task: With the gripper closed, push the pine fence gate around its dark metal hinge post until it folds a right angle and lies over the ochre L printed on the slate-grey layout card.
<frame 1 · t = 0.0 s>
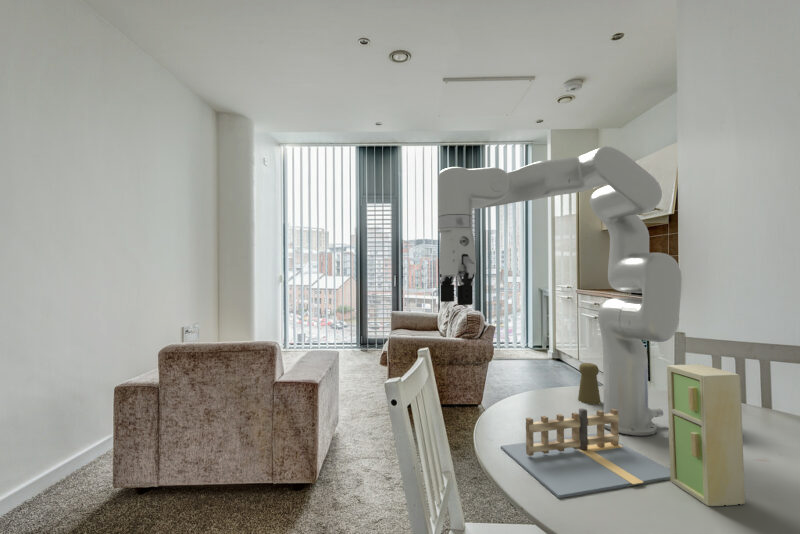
hand: (455, 303, 83), 31 cm above the table, tool pointing down, fingers open, 9 cm apart
cork: (589, 401, 112), on the table
fence fixed: (583, 451, 80), resting on layout card
layout card: (583, 461, 76), on the table
toy refrigerator: (703, 493, 65), on the table
fence gate: (553, 433, 78), point 5 cm above the table, hinge at 0.0°
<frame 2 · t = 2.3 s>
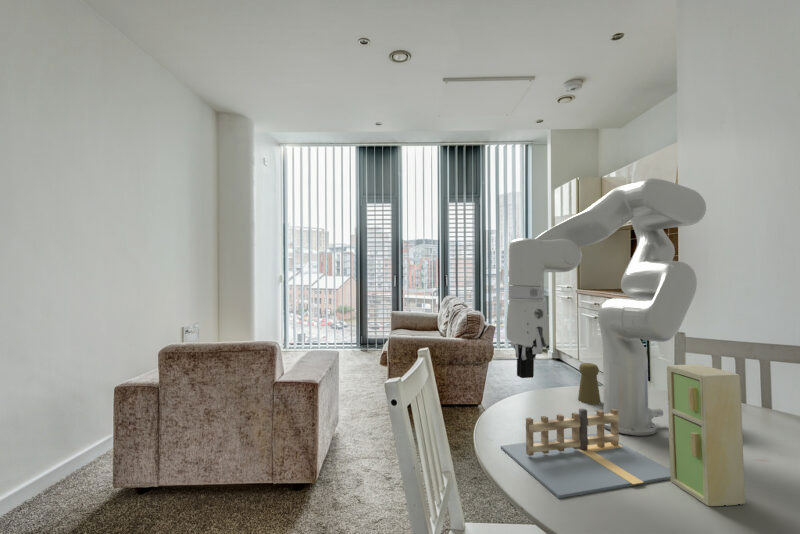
hand: (525, 376, 84), 15 cm above the table, tool pointing down, fingers closed
nothing on the table moved.
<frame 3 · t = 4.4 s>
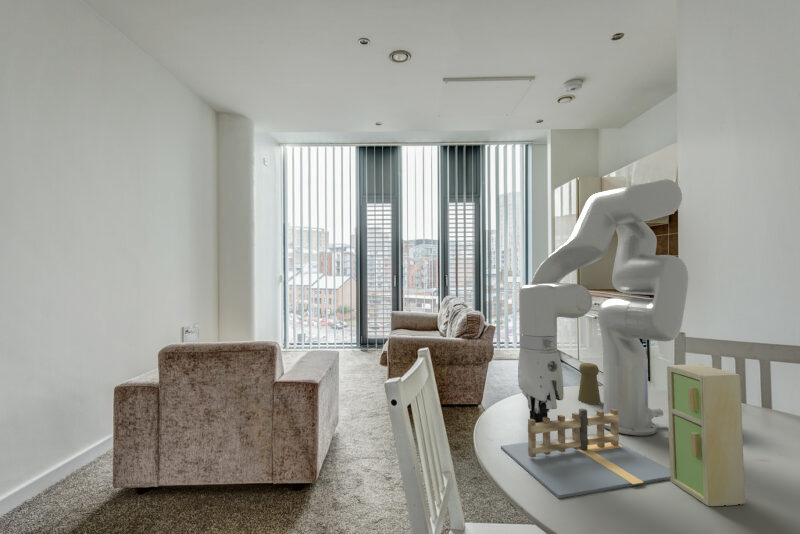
hand: (538, 429, 80), 5 cm above the table, tool pointing down, fingers closed
fence gate: (554, 434, 78), point 5 cm above the table, hinge at 3.3°, touching gripper
everything else where it was.
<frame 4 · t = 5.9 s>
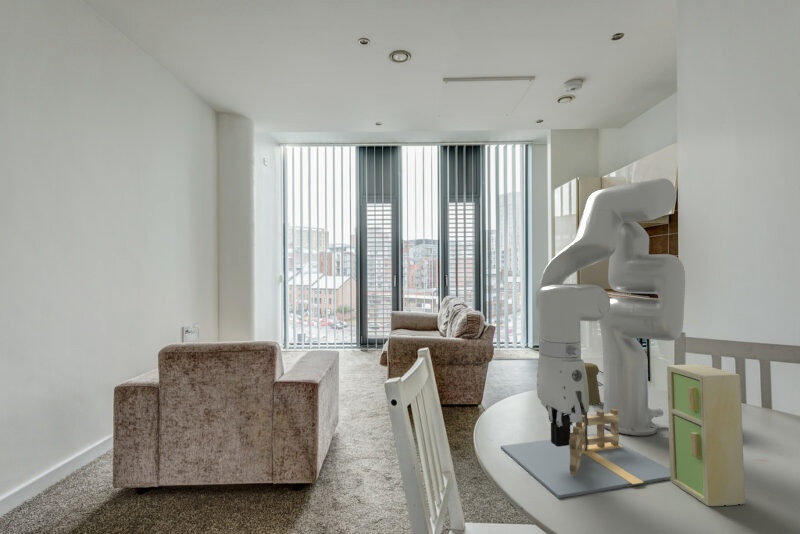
hand: (560, 444, 73), 5 cm above the table, tool pointing down, fingers closed
fence gate: (578, 442, 74), point 5 cm above the table, hinge at 42.5°, touching gripper
everything else where it was.
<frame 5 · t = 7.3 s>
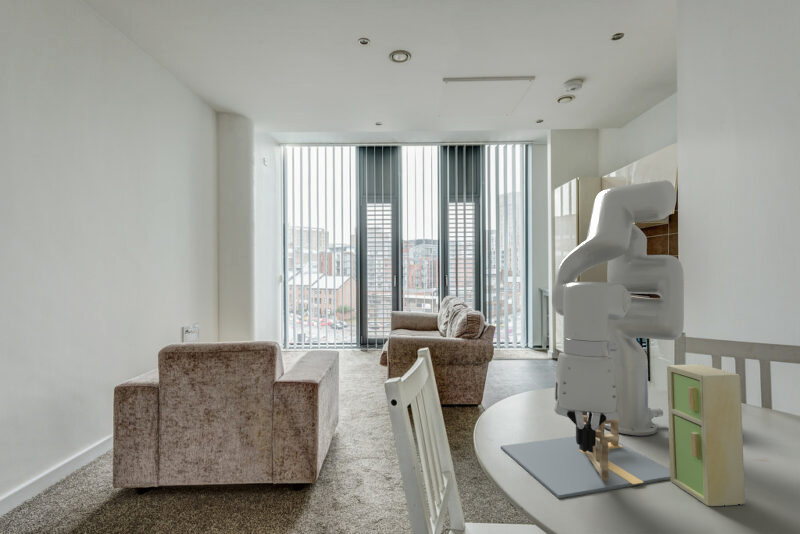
hand: (585, 448, 70), 5 cm above the table, tool pointing down, fingers closed
fence gate: (594, 445, 73), point 5 cm above the table, hinge at 64.8°, touching gripper
everything else where it was.
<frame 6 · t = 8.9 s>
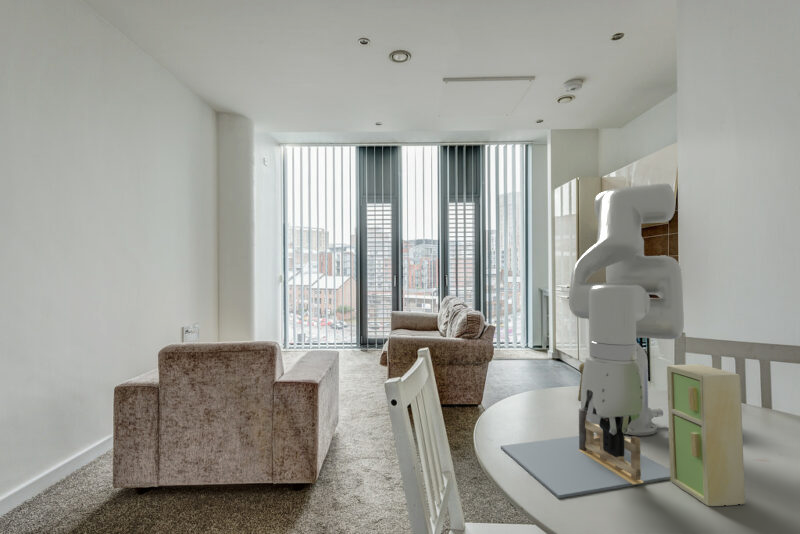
hand: (613, 453, 69), 5 cm above the table, tool pointing down, fingers closed
fence gate: (610, 444, 73), point 5 cm above the table, hinge at 90.8°
everything else where it was.
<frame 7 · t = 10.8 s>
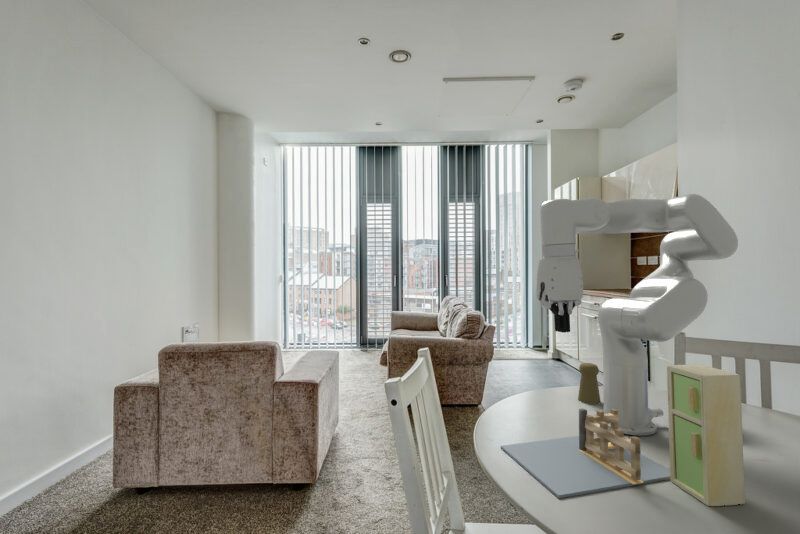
hand: (562, 331, 88), 24 cm above the table, tool pointing down, fingers closed
nothing on the table moved.
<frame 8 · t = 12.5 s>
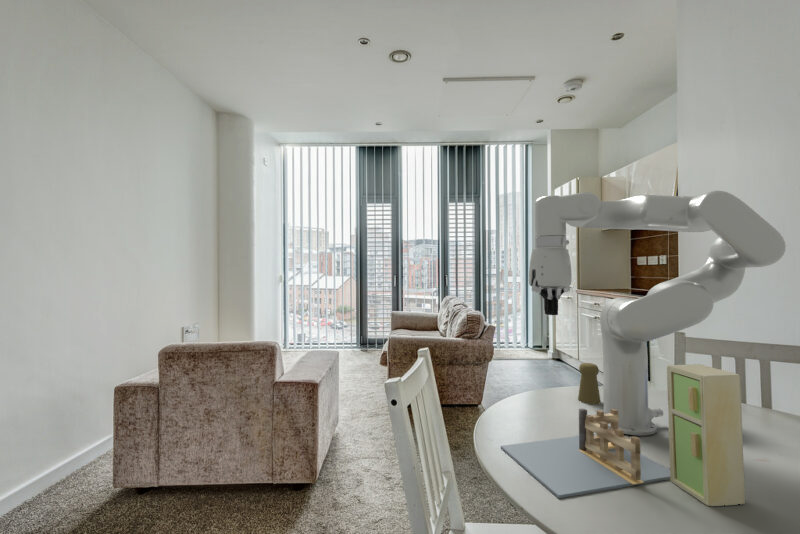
hand: (551, 314, 98), 27 cm above the table, tool pointing down, fingers closed
nothing on the table moved.
at the end: fence gate at +91° (first picture: +0°); toy refrigerator moved 0.2 cm from its start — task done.
